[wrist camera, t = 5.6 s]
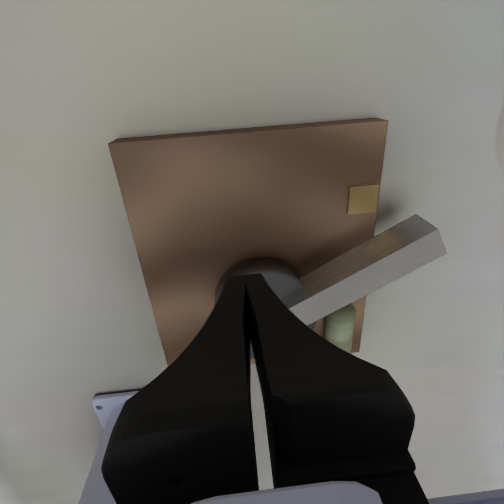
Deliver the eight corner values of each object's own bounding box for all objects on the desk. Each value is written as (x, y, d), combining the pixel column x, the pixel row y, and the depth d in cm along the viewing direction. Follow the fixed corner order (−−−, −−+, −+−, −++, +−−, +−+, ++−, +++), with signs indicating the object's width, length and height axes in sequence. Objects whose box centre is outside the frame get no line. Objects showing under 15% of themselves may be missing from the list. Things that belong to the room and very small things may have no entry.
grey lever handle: (246, 347, 22) (250, 386, 19) (194, 288, 20) (190, 323, 17) (424, 254, 20) (457, 283, 17) (391, 173, 17) (425, 191, 14)
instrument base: (351, 337, 25) (368, 371, 22) (172, 357, 24) (165, 394, 22) (375, 117, 17) (406, 124, 15) (116, 138, 17) (95, 150, 14)
